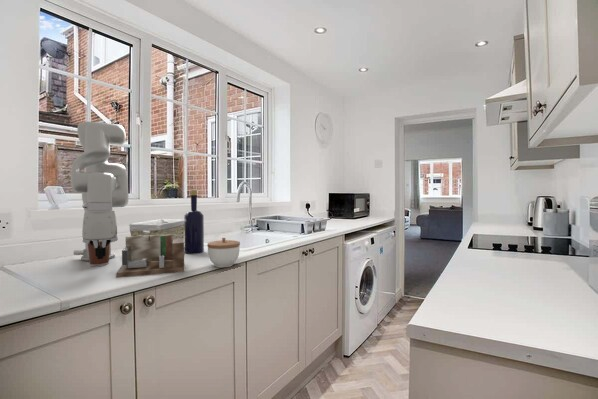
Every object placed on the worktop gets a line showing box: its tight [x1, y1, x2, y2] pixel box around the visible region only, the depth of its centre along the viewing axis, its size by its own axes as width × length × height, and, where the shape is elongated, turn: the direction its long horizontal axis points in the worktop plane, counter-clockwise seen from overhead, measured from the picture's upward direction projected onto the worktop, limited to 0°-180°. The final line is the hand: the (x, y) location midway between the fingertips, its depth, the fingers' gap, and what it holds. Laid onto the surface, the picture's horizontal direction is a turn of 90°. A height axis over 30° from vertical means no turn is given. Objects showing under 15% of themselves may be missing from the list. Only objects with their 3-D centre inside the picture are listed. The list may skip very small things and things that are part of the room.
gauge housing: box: [115, 234, 185, 278], centre depth 120 cm, size 22×15×12 cm
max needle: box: [159, 241, 164, 268], centre depth 116 cm, size 2×1×10 cm
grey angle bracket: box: [121, 245, 148, 268], centre depth 117 cm, size 8×11×7 cm
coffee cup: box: [88, 240, 110, 267], centre depth 129 cm, size 9×9×12 cm
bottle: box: [183, 189, 205, 255], centre depth 153 cm, size 9×9×30 cm
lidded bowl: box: [207, 237, 241, 268], centre depth 127 cm, size 13×13×11 cm
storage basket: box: [128, 218, 184, 238], centre depth 159 cm, size 24×16×15 cm
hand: (100, 258), depth 114 cm, fingers closed
